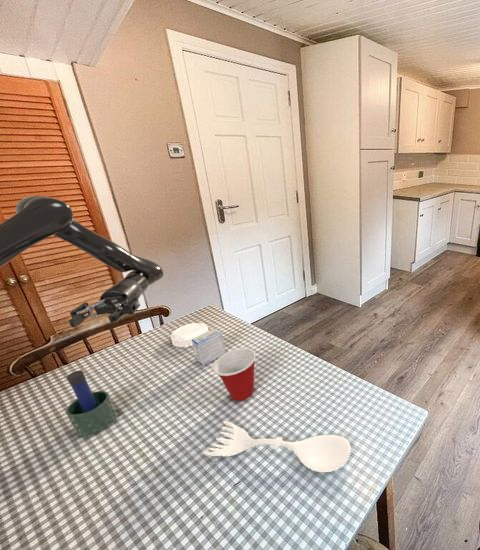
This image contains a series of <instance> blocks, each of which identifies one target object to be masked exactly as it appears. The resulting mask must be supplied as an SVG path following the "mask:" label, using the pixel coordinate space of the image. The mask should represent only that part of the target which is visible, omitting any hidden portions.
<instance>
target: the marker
mask: <svg viewBox="0 0 480 550" xmlns="http://www.w3.org/2000/svg"><path fill="white" fill-rule="evenodd" d="M66 379H67V381H68V384H69V386H71V388H72V390H73V393H74V395H75V396H76V399H78V401H79V403H80V405H81V407H82V409H83V411H84V413H85V412H88V411H91V410H92V409H94V408H96V407H98V406H97V403H96V401H95V399H94V397H93V395H92V392H93V391H92V389H91V388H90V386H89V383H88V382H87V377H86V375H85V373H84V371H83V370H76V371H75V370H74V371H73V372H71V373H70V374H68V375H67V376H66Z"/></svg>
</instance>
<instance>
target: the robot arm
mask: <svg viewBox="0 0 480 550" xmlns="http://www.w3.org/2000/svg"><path fill="white" fill-rule="evenodd" d="M52 236H55V237H57V238H58V239H61V240H62V241H64V242H67V243H68V244H71V246H74V247H76V248H77V249H79V250H81V251H82V252H84V253H86V254H88V255H89V256H90V257H92V258H94V259H96V260H98V261H99V262H101V263H103V264H104V265H106V266H108V267H109V268H111V269H113V270H115V271H116V272H119V273H127V272H128V273H127V274H126V275H125V277H124V278H122V279H121V280H120V281H117V282H116V283H114V284H113V285H112V286H110V287H109V288H108V289H106V290H105V291H104V292H103V293H102V294H101V295H100V298H99V300H98V301H96V302H94V303H93V304H89V303H88V302H83V303H82V304H80V305H79V306H77V307H76V308H74V309H72V310H71V311H69V314H70V317H71V318H70V319H69V320H68V323H69V325H70V326H71V328H77V327H79V326H80V325H81V324H82V323H84V322H85V321H86V320H89V319H95V318H98V317H100V316H103V315H108V314H109V315H108V316H107V319H108V320H109V323H110V324H115V323H116V322H117V321H119V320H120V319H121V318H122V317H125V316H126V315H129V316H131V315H133V314H135V313H136V311H137V310H138V309H139V308H140V307H141V303H140V300H139V299H140V298H141V296H142V295H143V294H145V292H146V291H147V289H148V288H149V286H151V285H153V284H154V283H156V282H157V281H159V280H161V279H162V278H163V277H164V269H163V268H162V266H160V265H159V264H158V262H155V261H153V260H150V259H148V258H145V257H142V256H139V255H137V254H133V253H131V252H130V251H128V250H127V249H126V248H124V247H122V246H121V245H119V244H117V242H114V241H112V240H111V239H108V238H106V237H105V236H103V235H101V234H99V233H97V232H95V231H93V230H91V229H90V228H88V227H86V226H84V225H83V224H81V223H80V222H78V221H77V220H75V219H74V212H73V209H72V208H71V206H70V205H69V204H68V203H67V202H65V201H63V200H61V199H58V198H56V197H55V198H54V197H52V196H51V197H50V196H44V195H29V196H26V197H23V198H21V199H20V200H19V201H18V202H17V203H16V205H15V214H14V215H13V216H11V217H9V218H7V219H6V220H5V221H3V222H1V223H0V268H2V267H4V266H5V265H7V264H8V263H10V262H11V261H12V260H14V259H16V257H18V256H19V255H20V254H22V253H23V252H25V251H26V250H28V249H30V248H31V247H33V246H34V245H37V244H38V243H41V242H42V241H45V240H46V239H48V238H50V237H52ZM93 310H94V311H95V313H94V311H93Z"/></svg>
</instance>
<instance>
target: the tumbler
mask: <svg viewBox="0 0 480 550" xmlns="http://www.w3.org/2000/svg"><path fill="white" fill-rule="evenodd" d="M91 392H92V395H93V397H94V399H95V401H96V403H97V406H98V407H96V408H94V409H92V410H91V411H88V412H85V413H84V411H83V409H82V407H81V405H80V403H79V401H78V399H77V398H76V399H75V400H74V401H72V402H71V403H70V404H68V406H67V407H66V409H65V415H66V417H67V418H68V420H69V422H70V424H71V426H72V428H73V430H74V432H75V434H76V435H77V436H80V437H88V436H93V435H96V434H98V433H100V432H101V431H102V432H103V431H104V430H105V429H107V428H108V427H109V426H110V425H112V424H114V422H115V420H116V419H117V415H118V412H117V410H116V407H115V405H114V403H113V400H112V398H111V396H110V393H109V392H107V391H105V390H97V391H91Z"/></svg>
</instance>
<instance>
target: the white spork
mask: <svg viewBox="0 0 480 550" xmlns="http://www.w3.org/2000/svg"><path fill="white" fill-rule="evenodd" d="M222 423H223V424H224V425H226V426H221V429H222V430H223V431H219V434H221V435H222V436H224V437H226V438H223V437H215V440H216V441H217V442H219V443H220V444H217V443H210V445H211V446H212V447H206V448H207V450H208V451H202V453H201V454H203V455H204V456H207V457H233V456H236V455H240V454H241V453H244V452H245V451H246V450H249V449H251V448H253V447H256V446H263V445H264V446H270V447H272V449H273V450H278V449H279V448H281V447H286V448H288V449H290V450H292V451H293V453H294V454H295V456H296V457H297V458H298V460H300V462H301V463H302V464H303V465H304V466H305V467H306V468H308V469H309V470H311V471H314V472H318V473H331V472H335V471H338V470H339V469H341V468H343V467H344V466H345V465H346V464H347V463H348V461H349V459H350V456H351V453H352V447H351V443H350V441H349V440H348V439H347V438H345V437H343V436H341V435H337V434H320V435H314V436H311V437H309V438H305V439H302V440H299V441H287V440H283V437H282V436H277V437H275V438H252V437H250V435H249V433H248V432H247V430H245V429H244V428H242V427H240V426H238V425H236V424H235V423H232V422H230V421H228V420H223V422H222ZM225 431H226V432H225Z"/></svg>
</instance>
